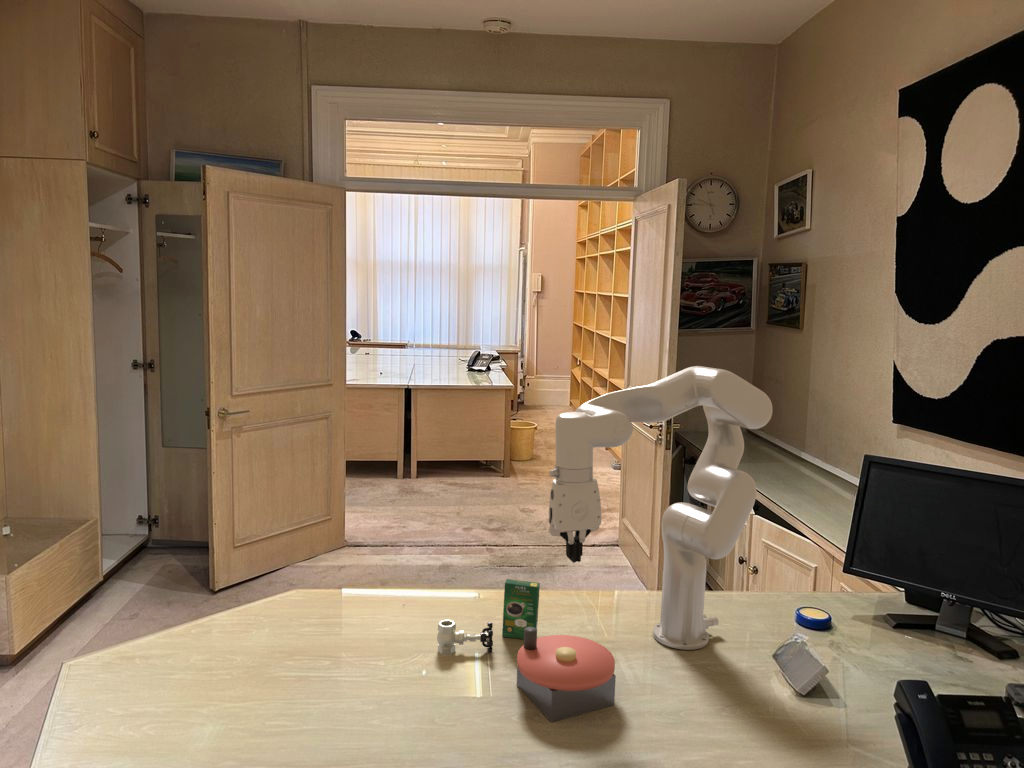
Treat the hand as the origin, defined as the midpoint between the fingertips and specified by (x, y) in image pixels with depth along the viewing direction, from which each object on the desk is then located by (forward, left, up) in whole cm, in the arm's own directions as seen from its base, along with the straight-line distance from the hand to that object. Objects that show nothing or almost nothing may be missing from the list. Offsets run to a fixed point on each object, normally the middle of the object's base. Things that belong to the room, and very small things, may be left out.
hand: (574, 559), depth 151 cm
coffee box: (+3, -17, -24) cm, 30 cm away
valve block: (+6, +8, -24) cm, 26 cm away
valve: (+17, -16, -24) cm, 34 cm away
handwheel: (+6, +8, -18) cm, 20 cm away
